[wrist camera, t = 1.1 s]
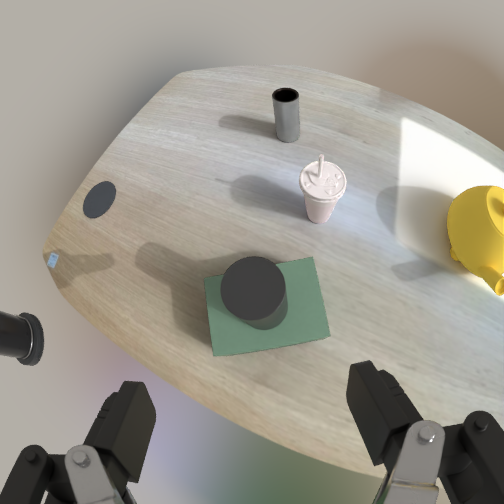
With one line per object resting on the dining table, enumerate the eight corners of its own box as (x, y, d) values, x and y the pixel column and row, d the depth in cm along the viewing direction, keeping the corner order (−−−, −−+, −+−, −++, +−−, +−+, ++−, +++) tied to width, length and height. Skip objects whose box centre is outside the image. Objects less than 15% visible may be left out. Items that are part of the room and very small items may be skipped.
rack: (226, 356, 38) (213, 356, 31) (217, 290, 41) (203, 277, 35) (323, 338, 37) (330, 335, 30) (309, 272, 40) (312, 256, 34)
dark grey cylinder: (252, 337, 31) (235, 331, 22) (234, 296, 34) (210, 272, 24) (295, 317, 32) (297, 302, 22) (275, 276, 34) (268, 245, 24)
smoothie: (310, 190, 45) (313, 132, 32) (344, 207, 43) (359, 151, 30) (291, 219, 44) (289, 165, 31) (327, 238, 42) (339, 188, 29)
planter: (274, 129, 51) (269, 89, 42) (296, 125, 51) (294, 85, 42) (279, 144, 50) (275, 104, 40) (302, 140, 49) (302, 99, 40)
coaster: (85, 225, 50) (84, 224, 50) (83, 195, 54) (82, 194, 53) (118, 205, 51) (117, 204, 50) (113, 175, 54) (112, 174, 54)
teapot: (493, 319, 32) (544, 302, 19) (427, 294, 36) (475, 267, 23) (498, 221, 38) (535, 186, 25) (440, 192, 42) (471, 146, 29)
